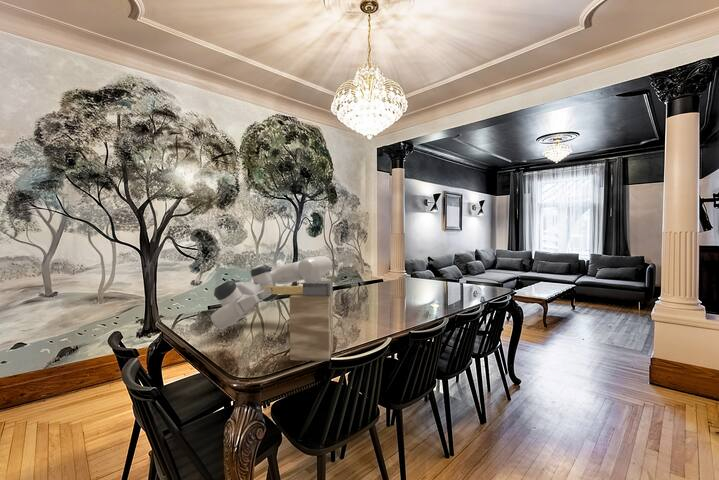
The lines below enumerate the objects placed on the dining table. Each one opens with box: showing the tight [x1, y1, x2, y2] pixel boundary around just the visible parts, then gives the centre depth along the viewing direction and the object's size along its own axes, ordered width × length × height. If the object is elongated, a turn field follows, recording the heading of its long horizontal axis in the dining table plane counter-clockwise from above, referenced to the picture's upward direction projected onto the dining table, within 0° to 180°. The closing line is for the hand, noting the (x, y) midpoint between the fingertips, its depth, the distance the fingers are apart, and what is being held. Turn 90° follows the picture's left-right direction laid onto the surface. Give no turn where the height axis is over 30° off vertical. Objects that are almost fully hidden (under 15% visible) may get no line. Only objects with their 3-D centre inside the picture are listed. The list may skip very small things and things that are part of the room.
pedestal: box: [289, 293, 334, 362], centre depth 136 cm, size 12×16×26 cm
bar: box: [264, 285, 303, 295], centre depth 137 cm, size 3×24×3 cm, turn 86°
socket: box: [302, 280, 334, 296], centre depth 136 cm, size 8×11×5 cm
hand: (272, 289), depth 137 cm, fingers open, 3 cm apart
